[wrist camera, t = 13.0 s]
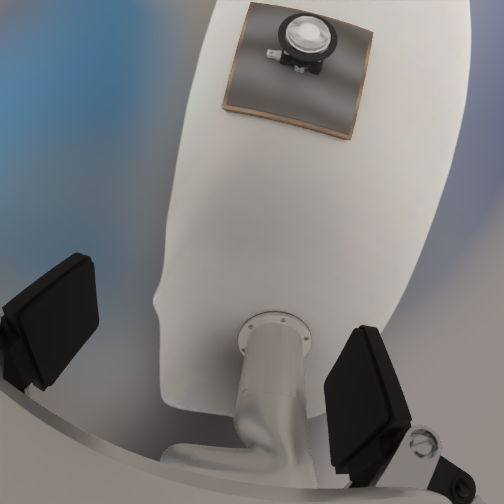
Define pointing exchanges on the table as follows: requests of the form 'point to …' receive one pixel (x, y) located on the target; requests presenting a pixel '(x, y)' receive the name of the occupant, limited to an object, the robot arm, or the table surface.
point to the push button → (305, 42)
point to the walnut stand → (297, 76)
